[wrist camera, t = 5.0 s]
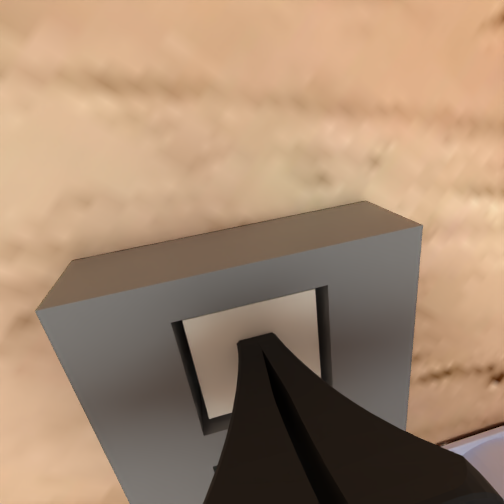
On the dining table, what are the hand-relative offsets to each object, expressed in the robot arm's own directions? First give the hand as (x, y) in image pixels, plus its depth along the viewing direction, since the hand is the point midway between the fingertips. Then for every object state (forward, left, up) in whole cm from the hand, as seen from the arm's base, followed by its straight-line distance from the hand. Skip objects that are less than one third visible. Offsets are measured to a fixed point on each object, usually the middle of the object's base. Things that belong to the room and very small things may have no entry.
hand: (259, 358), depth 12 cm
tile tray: (0, +7, -3) cm, 8 cm away
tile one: (0, 0, -2) cm, 2 cm away
